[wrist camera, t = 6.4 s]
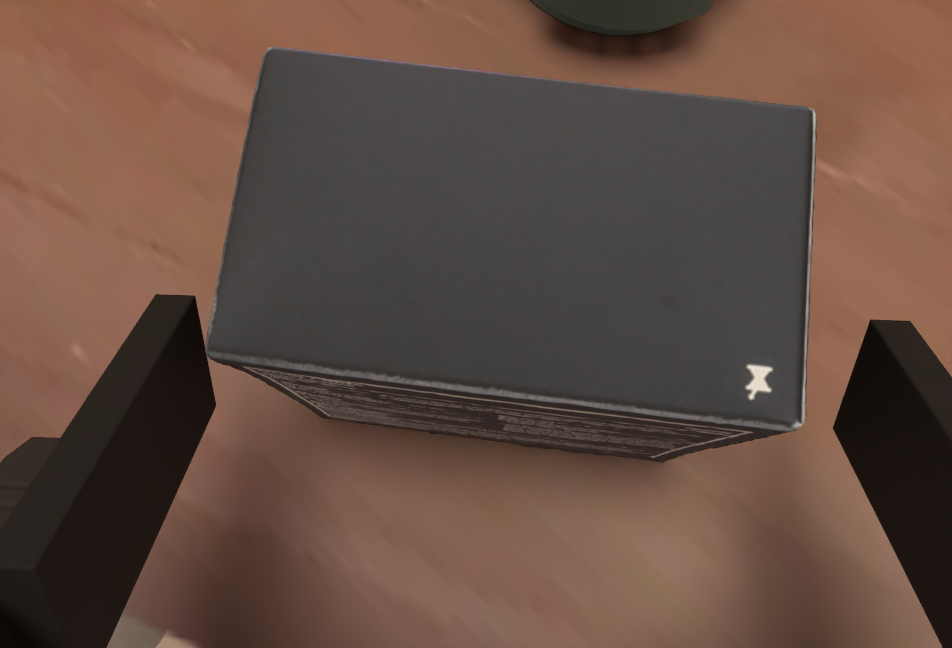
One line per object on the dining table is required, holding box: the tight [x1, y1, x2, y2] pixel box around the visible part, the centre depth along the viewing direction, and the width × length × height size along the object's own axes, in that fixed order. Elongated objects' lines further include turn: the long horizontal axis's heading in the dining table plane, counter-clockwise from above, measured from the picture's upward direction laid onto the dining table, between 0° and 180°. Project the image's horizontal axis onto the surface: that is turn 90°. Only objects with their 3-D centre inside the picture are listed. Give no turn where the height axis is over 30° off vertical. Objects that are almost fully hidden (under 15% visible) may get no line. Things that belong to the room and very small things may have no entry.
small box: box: [205, 47, 817, 462], centre depth 20 cm, size 11×6×10 cm, turn 83°
